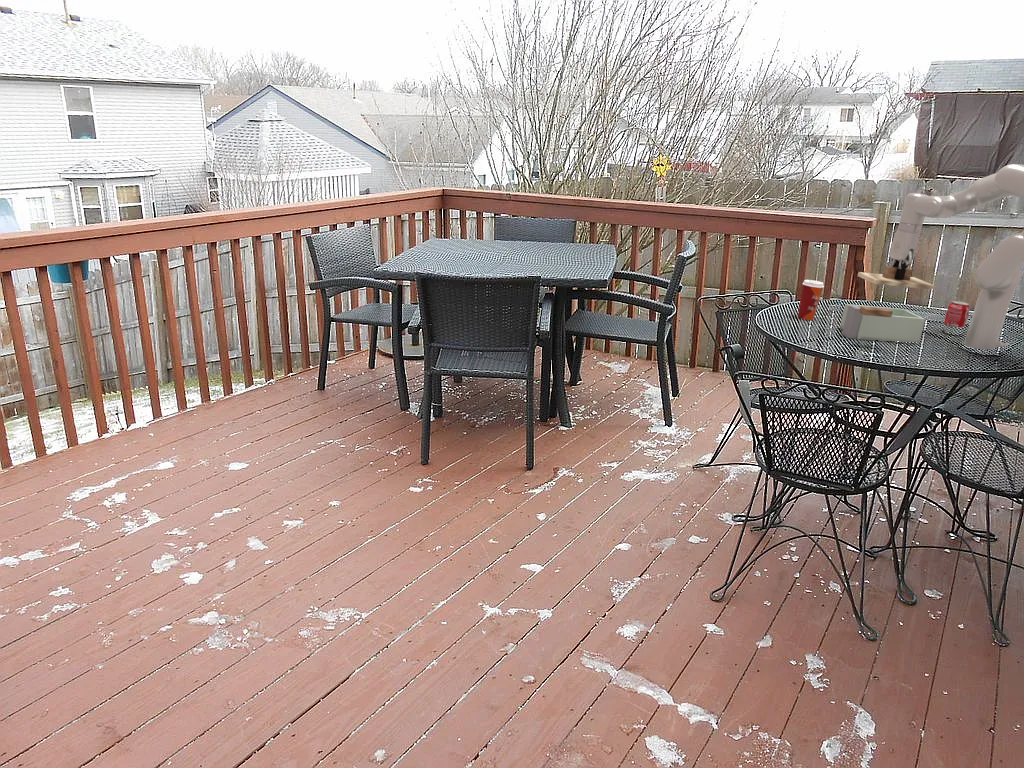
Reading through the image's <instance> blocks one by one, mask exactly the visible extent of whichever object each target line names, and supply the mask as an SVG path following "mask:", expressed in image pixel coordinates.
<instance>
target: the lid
mask: <svg viewBox="0 0 1024 768" xmlns="http://www.w3.org/2000/svg"><path fill="white" fill-rule="evenodd" d="M897 268H898V267H892V266H891V265H890V266H889V265H884V269H883V272H882V274H881V273H872V272H864V271H863V272H861V271H858V273H857V277H859V278H861V279H863V280H866V281H868V282H870V283H871V284H874V285H882V286H890V287H891V286H893V287H902V288H904V287H905V288H911V289H913V288H914V289H923V290H924V289H926V290H935V287H936V285H935V284H932V283H930V282H927V281H925V280H923V279H920V278H917V277H915V276H912V274H913V269H912V268H909V267H908V268H907V270H906V272H905V275H904V279H903V280H896V279H894V278H895V274H896V270H897ZM898 269H899V268H898Z"/></svg>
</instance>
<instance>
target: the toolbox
mask: <svg viewBox="0 0 1024 768" xmlns="http://www.w3.org/2000/svg"><path fill="white" fill-rule="evenodd" d="M861 306H862V307H874V308H886V309H889V310H891V311H893V313H892V316H891V317H880V316H868V315H863V314H862V313H860V312H859V311H860V307H861ZM925 323H926V318H924V317H922V316H920V315H918V314H916V313H913V312H911V311H909V310H907V309H906V308H896V307H887V306H886V307H885V306H884V307H883V306H872V305H862V304H861V305H860V304H848V303H845V305H844V308H843V312H842V316H841V320H840V325H839V329H840V330H841V331H842V332H841V335H843V336H844V337H846V339H856V340H865V341H874V340H878V341H877V342H886V341H900V342H919V343H920V340H921V336H922V334H923V330H924V326H925Z"/></svg>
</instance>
